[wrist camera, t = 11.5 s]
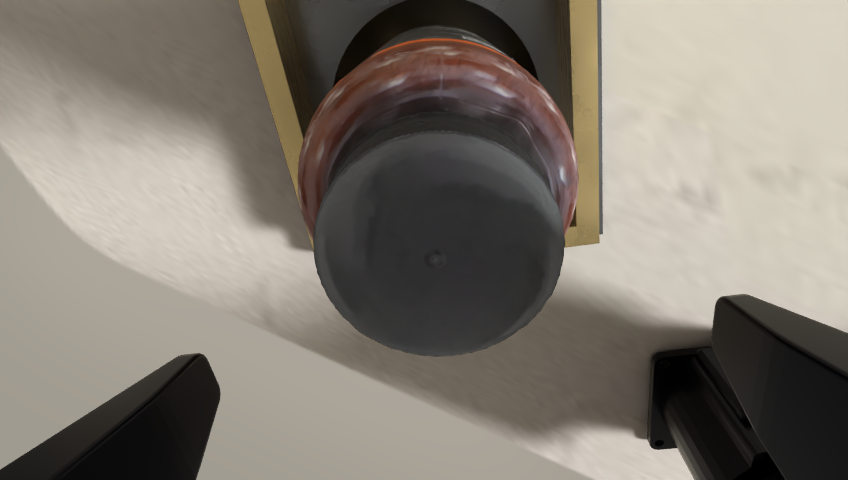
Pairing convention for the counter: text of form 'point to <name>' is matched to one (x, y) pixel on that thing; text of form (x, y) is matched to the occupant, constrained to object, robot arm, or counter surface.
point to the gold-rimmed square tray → (436, 5)
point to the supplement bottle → (438, 193)
